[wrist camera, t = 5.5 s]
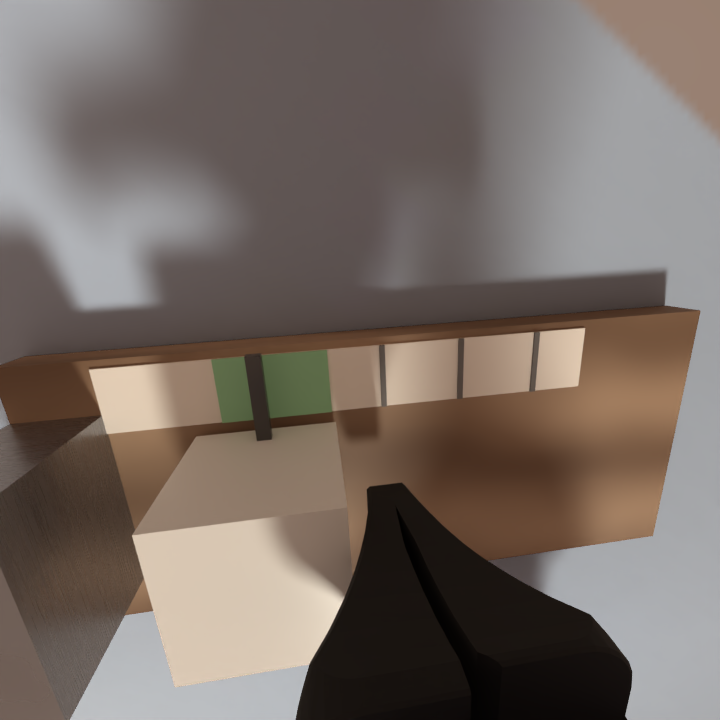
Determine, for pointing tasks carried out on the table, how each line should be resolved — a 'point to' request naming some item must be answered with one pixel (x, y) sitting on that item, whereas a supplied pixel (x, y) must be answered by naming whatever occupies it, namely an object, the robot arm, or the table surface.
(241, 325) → the table surface
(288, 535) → the block
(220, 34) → the table surface
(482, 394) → the gauge track
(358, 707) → the robot arm
